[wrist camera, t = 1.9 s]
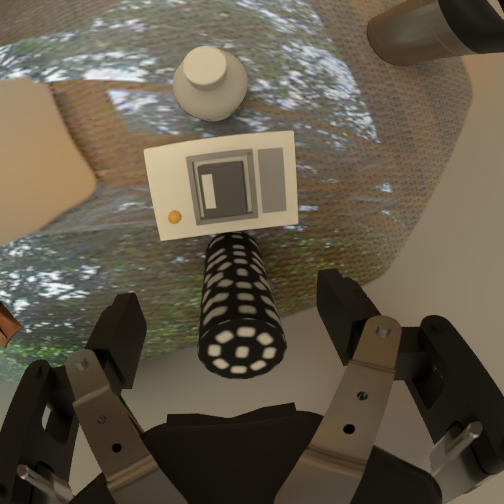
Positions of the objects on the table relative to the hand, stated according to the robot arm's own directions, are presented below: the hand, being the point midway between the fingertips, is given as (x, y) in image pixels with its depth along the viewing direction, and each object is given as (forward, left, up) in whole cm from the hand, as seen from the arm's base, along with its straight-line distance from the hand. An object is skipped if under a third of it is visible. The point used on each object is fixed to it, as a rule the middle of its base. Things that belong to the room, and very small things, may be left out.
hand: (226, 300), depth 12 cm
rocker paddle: (0, 0, -22) cm, 22 cm away
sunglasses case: (+61, +24, -29) cm, 71 cm away
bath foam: (0, -11, -29) cm, 31 cm away
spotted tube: (0, +12, -29) cm, 31 cm away
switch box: (0, 0, -28) cm, 28 cm away
